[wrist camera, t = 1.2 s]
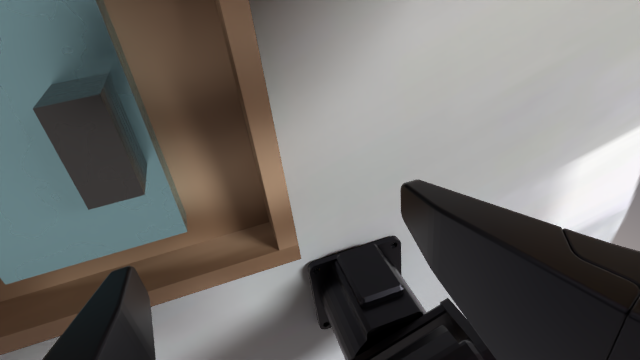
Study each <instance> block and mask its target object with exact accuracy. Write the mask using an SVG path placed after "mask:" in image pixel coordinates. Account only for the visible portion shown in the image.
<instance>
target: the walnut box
mask: <svg viewBox="0 0 640 360" xmlns="http://www.w3.org/2000/svg"><path fill="white" fill-rule="evenodd" d="M104 3H105V6H106V8H107V11H108V13H109V16H110V19H111V21H112V24H113V26H114V29H115V31H116V34H117V37H118V39H119V42H120V44H121V47H122V50H123V52H124V55H125V57H126V60H127V62H128V65H129V68H130V70H131V73H132V75H133V78H134V81H135V83H136V86H137V88H138V91H139V93H140V96H141V99H142V101H143V104H144V106H145V109H146V112H147V114H148V117H149V119H150V122H151V124H152V127H153V130H154V132H155V135H156V137H157V140H158V143H159V145H160V148H161V150H162V153H163V155H164V158H165V161H166V163H167V166H168V168H169V171H170V174H171V176H172V179H173V181H174V184H175V186H176V189H177V192H178V194H179V197H180V199H181V202H182V205H183V207H184V210H185V212H186V217H187V232H185V233H182V234H179V235H175V236H172V237H168V238H165V239H161V240H158V241H154V242H151V243H147V244H144V245H141V246H137V247H134V248H130V249H127V250H123V251H120V252H116V253H113V254H110V255H106V256H103V257H99V258H96V259H92V260H89V261H85V262H82V263H79V264H75V265H72V266H68V267H65V268H61V269H58V270H54V271H51V272H48V273H44V274H41V275H37V276H34V277H30V278H27V279H23V280H20V281H17V282H13V283H10V284H6V285H5V283H4V282H3V281H2V280H1V278H0V355H2V354H5V353H8V352H11V351H14V350H18V349H21V348H24V347H27V346H30V345H33V344H36V343H39V342H43V341H46V340H49V339H52V338H55V337H58V336H61V335H62V334H63V333H64V331H65V330H66V329H67V327H68V326H69V325H70V324H71V322H72V321H73V320H74V318H75V317H76V316H77V315H78V313H79V312H80V311H81V309H82V308H83V307H84V306H85V304H86V303H87V302H88V300H89V299H90V298H91V297H92V295H93V294H94V293H95V291H96V290H97V289H98V288H99V286H100V285H101V284H102V282H103V281H104V280H105V279H106V277H107V276H108V275H109V274H110V273H111V272H112V271H114V270H117V269H120V268H123V267H127V266H132V267H134V268H135V269H136V271H137V273H138V275H139V277H140V279H141V280H142V282H143V284H144V286H145V288H146V290H147V292H148V295H149V298H150V305H151V307H152V306H155V305H158V304H161V303H164V302H167V301H170V300H174V299H177V298H180V297H183V296H186V295H189V294H192V293H195V292H199V291H202V290H205V289H208V288H211V287H214V286H217V285H220V284H224V283H227V282H230V281H233V280H236V279H239V278H242V277H245V276H249V275H252V274H255V273H258V272H261V271H264V270H267V269H270V268H273V267H277V266H280V265H283V264H286V263H289V262H292V261H295V260H298V259H301V255H300V250H299V246H298V241H297V236H296V231H295V226H294V221H293V216H292V211H291V206H290V201H289V196H288V191H287V186H286V182H285V177H284V172H283V167H282V162H281V157H280V152H279V147H278V142H277V137H276V132H275V127H274V122H273V118H272V113H271V108H270V103H269V98H268V93H267V88H266V83H265V78H264V73H263V68H262V63H261V58H260V54H259V49H258V44H257V39H256V34H255V29H254V24H253V19H252V14H251V9H250V4H249V0H104Z"/></svg>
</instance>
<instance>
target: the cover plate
mask: <svg viewBox="0 0 640 360" xmlns="http://www.w3.org/2000/svg"><path fill="white" fill-rule="evenodd" d="M185 232H187V217H186V212H185V210H184V207H183V205H182V202H181V199H180V197H179V194H178V192H177V189H176V186H175V184H174V181H173V179H172V176H171V174H170V171H169V168H168V166H167V163H166V161H165V158H164V155H163V153H162V150H161V148H160V145H159V143H158V140H157V137H156V135H155V132H154V130H153V127H152V124H151V122H150V119H149V117H148V114H147V112H146V109H145V106H144V104H143V101H142V99H141V96H140V93H139V91H138V88H137V86H136V83H135V81H134V78H133V75H132V73H131V70H130V68H129V65H128V62H127V60H126V57H125V55H124V52H123V50H122V47H121V44H120V42H119V39H118V37H117V34H116V31H115V29H114V26H113V24H112V21H111V19H110V16H109V13H108V11H107V8H106V6H105V3H104V0H0V278H1V280H2V281H3V282H4V283H5V285H6V284H10V283H13V282H17V281H20V280H23V279H27V278H30V277H34V276H37V275H41V274H44V273H48V272H51V271H54V270H58V269H61V268H65V267H68V266H72V265H75V264H79V263H82V262H85V261H89V260H92V259H96V258H99V257H103V256H106V255H110V254H113V253H116V252H120V251H123V250H127V249H130V248H134V247H137V246H141V245H144V244H147V243H151V242H154V241H158V240H161V239H165V238H168V237H172V236H175V235H179V234H182V233H185Z"/></svg>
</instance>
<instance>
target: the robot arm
mask: <svg viewBox="0 0 640 360" xmlns="http://www.w3.org/2000/svg"><path fill="white" fill-rule="evenodd" d="M401 214H402V218H403V220H404V222H405V224H406V226H407V227H408V229H409V231H410V233H411V234H412V236H413V238H414V240H415V242H416V243H417V245H418V247H419V249H420V250H421V252H422V254H423V256H424V258H425V259H426V261H427V263H428V265H429V266H430V268H431V270H432V271H433V273H434V274H435V275H436V277H437V278H438V280H439V281H440V283H441V284H442V285H443V287H444V288H445V289H446V291H447V292H448V294H449V295H450V296H451V298H452V299H453V300H454V302H455V303H456V305H457V306H458V307H459V309H460V310H461V311H462V313H463V314H464V315H463V314H462V313H461V312H460V311H459V310H458V309H457V308H456V306H455V305H454V304H453V303H452V302H451V301H450V300H449V299H448V298H447V299H445V300H443V301H442V302H440V305H438V306H437V307H435V308H434V309H432V310H430V311H429V312H426V311H425V309H424V308H423V307H422V305H421V304H420V302H419V301H418V299H417V298H416V296H415V295H414V293H413V292H412V291H411V289H410V288H409V286H408V285H407V283H406V282H405V280H404V279H403V277H402V276H401V242H400V240H399V239H398V238H397V237H396V236H391V237H388V238H384V239H381V240H378V241H375V242H372V243H369V244H366V245H363V246H360V247H357V248H354V249H350V250H347V251H344V252H341V253H338V254H335V255H332V256H329V257H326V258H323V259H320V260H317V261H314V262H312V263H310V264H309V266H308V272H309V277H310V282H311V287H312V292H313V298H314V303H315V308H316V313H317V318H318V323H319V325H320V328H321V329H328V328H331V327H332V329H333V331H334V334H335V336H336V338H337V341H338V343H339V345H340V348H341V350H342V353H343V355H344V357H345V360H640V251H636V250H633V249H629V248H626V247H622V246H619V245H615V244H611V243H608V242H605V241H602V240H599V239H596V238H592V237H589V236H586V235H583V234H580V233H577V232H574V231H571V230H568V229H563V230H562V228H561V227H559V226H556V225H553V224H550V223H547V222H544V221H541V220H538V219H535V218H532V217H529V216H526V215H523V214H520V213H517V212H514V211H511V210H508V209H505V208H502V207H499V206H496V205H493V204H490V203H487V202H484V201H481V200H478V199H475V198H472V197H469V196H466V195H463V194H460V193H457V192H454V191H451V190H448V189H445V188H442V187H439V186H436V185H433V184H430V183H427V182H424V181H421V180H413V181H410V182H406V183H404V184H403V185H402V186H401ZM392 243H393V244H392ZM391 244H392V245H391ZM316 268H318V269H316ZM314 269H316V270H314ZM464 316H465V317H466V318H467V319H466V318H465V317H464ZM43 360H156V359H155V348H154V337H153V326H152V316H151V305H150V298H149V295H148V292H147V290H146V288H145V286H144V284H143V282H142V280H141V279H140V277H139V275H138V273H137V271H136V269H135V268H134V267H132V266H127V267H123V268H120V269H117V270H114V271H112V272H111V273H110V274H109V275H108V276H107V277H106V279H105V280H104V281H103V282H102V284H101V285H100V286H99V288H98V289H97V290H96V291H95V293H94V294H93V295H92V297H91V298H90V299H89V300H88V302H87V303H86V304H85V306H84V307H83V308H82V309H81V311H80V312H79V313H78V315H77V316H76V317H75V318H74V320H73V321H72V322H71V324H70V325H69V326H68V327H67V329H66V330H65V331H64V333H63V334H62V335H61V336H60V338H59V339H58V340H57V342H56V343H55V344H54V345H53V347H52V348H51V349H50V351H49V352H48V353H47V354H46V356H45V357H44V358H43Z"/></svg>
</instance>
